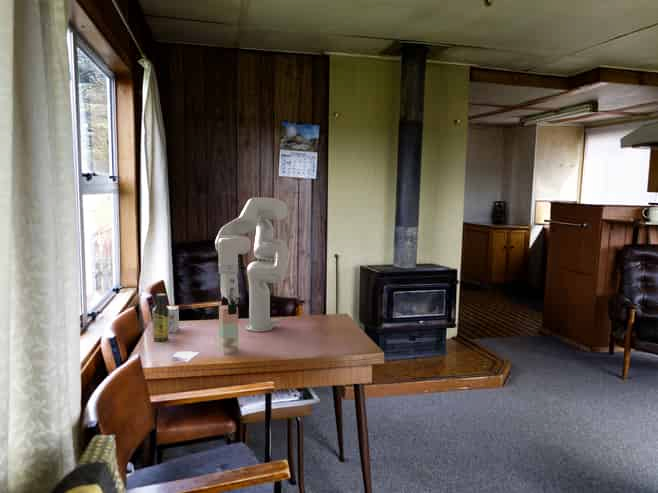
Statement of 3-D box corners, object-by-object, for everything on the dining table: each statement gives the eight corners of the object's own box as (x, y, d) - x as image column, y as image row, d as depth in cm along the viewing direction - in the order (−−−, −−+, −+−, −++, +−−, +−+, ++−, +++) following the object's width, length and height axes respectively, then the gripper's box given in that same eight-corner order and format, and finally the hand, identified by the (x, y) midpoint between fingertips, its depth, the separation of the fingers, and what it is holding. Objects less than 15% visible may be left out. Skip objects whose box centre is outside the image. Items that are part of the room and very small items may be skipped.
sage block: (233, 333, 202) (233, 319, 201) (238, 337, 196) (238, 322, 196) (219, 335, 199) (219, 320, 198) (223, 339, 194) (223, 324, 193)
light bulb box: (151, 332, 222) (151, 309, 220) (155, 328, 228) (155, 305, 227) (176, 332, 223) (175, 309, 221) (179, 328, 229) (179, 305, 228)
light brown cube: (233, 319, 201) (233, 304, 200) (238, 322, 196) (238, 307, 195) (219, 320, 198) (219, 306, 198) (223, 324, 193) (222, 309, 192)
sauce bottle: (150, 340, 210) (149, 294, 208) (161, 336, 216) (160, 292, 213) (161, 342, 207) (160, 296, 205) (172, 339, 212) (171, 293, 210)
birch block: (233, 347, 202) (233, 333, 202) (238, 352, 197) (238, 337, 196) (219, 349, 200) (219, 335, 199) (223, 354, 194) (223, 339, 194)
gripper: (244, 271, 189) (244, 315, 191) (231, 265, 204) (232, 305, 206) (224, 273, 185) (225, 317, 188) (213, 266, 201) (214, 307, 203)
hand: (228, 311), depth 197 cm, fingers open, 9 cm apart
